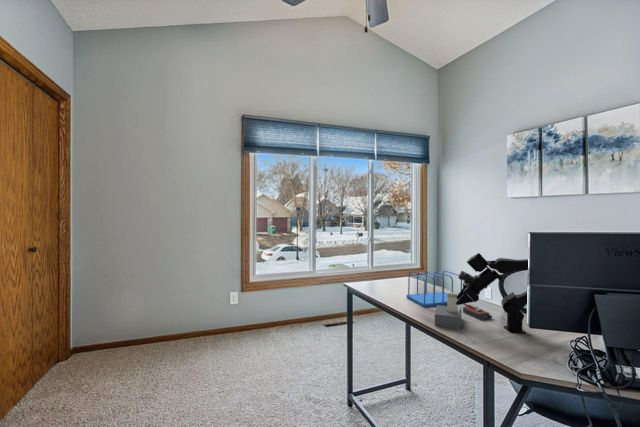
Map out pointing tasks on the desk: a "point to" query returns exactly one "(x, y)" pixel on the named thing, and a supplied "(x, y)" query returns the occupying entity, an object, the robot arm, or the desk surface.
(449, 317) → the block
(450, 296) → the strip
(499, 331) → the desk surface
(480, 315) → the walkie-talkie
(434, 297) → the file sorter
